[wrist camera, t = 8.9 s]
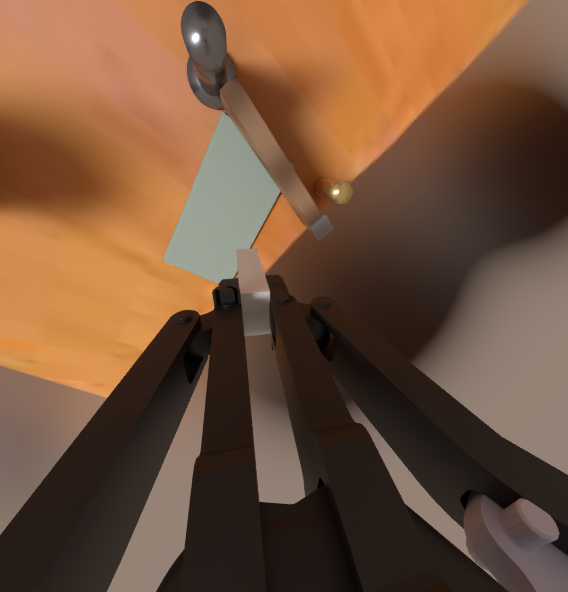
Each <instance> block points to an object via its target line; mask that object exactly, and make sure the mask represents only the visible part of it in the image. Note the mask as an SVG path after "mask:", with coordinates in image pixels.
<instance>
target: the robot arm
mask: <svg viewBox="0 0 568 592" xmlns="http://www.w3.org/2000/svg"><path fill="white" fill-rule="evenodd" d="M236 253H237V266H238V278H232V279H222V280H221V282H220V283H219V287H216V288H215V289H214V290H213V292H212V294H213V300H214V306H215V308H214V310H213V311H211V312H209V313H206V314H203V315H199V313H198V312H196V311H194V310H184V311H180V312H178V313H176V314H174V315H173V316H171V317H170V319H169V320H168V321H167V322H166V324H165V325H164V326H163V328H162V329H161V330H160V331H159V333H158V334H157V335H156V337H155V338H154V339H153V340H152V342H151V343H150V344H149V345H148V347H147V348H146V349H145V351H144V352H143V353H142V354H141V356H140V357H139V358H138V360H137V361H136V362H135V363H134V365H133V366H132V367H131V369H130V370H129V371H128V372H127V374H126V375H125V376H124V377H123V379H122V380H121V381H120V383H119V384H118V385H117V386H116V388H115V389H114V390H113V392H112V393H111V394H110V395H109V397H108V398H107V399H106V401H105V402H104V403H103V404H102V406H101V407H100V408H99V409H98V411H97V412H96V413H95V415H94V416H93V417H92V418H91V420H90V421H89V422H88V424H87V425H86V426H85V427H84V429H83V430H82V431H81V432H80V434H79V435H78V436H77V438H76V439H75V440H74V441H73V443H72V444H71V445H70V447H69V448H68V449H67V450H66V452H65V453H64V454H63V456H62V457H61V458H60V459H59V461H58V462H57V463H56V464H55V466H54V467H53V468H52V470H51V471H50V472H49V474H48V475H47V476H46V477H45V479H44V480H43V481H42V482H41V484H40V485H39V486H38V488H37V489H36V490H35V491H34V493H33V494H32V495H31V497H30V498H29V499H28V500H27V502H26V503H25V504H24V505H23V507H22V508H21V510H20V511H19V512H18V513H17V514H16V516H15V517H14V518H13V519H12V521H11V522H10V523H9V525H8V526H7V527H6V529H5V530H4V531H3V532H2V534H1V535H0V592H107V590H108V588H109V586H110V583H111V581H112V579H113V577H114V575H115V572H116V570H117V568H118V566H119V564H120V562H121V559H122V557H123V555H124V553H125V550H126V548H127V545H128V543H129V541H130V538H131V536H132V534H133V531H134V529H135V527H136V525H137V522H138V520H139V518H140V515H141V513H142V511H143V508H144V506H145V504H146V501H147V499H148V497H149V494H150V492H151V490H152V487H153V485H154V483H155V480H156V478H157V476H158V473H159V471H160V469H161V466H162V464H163V462H164V459H165V457H166V454H167V452H168V450H169V448H170V445H171V443H172V441H173V438H174V436H175V434H176V431H177V429H178V427H179V424H180V422H181V420H182V418H183V415H184V413H185V410H186V408H187V406H188V403H189V401H190V399H191V397H192V394H193V392H194V389H195V387H196V385H197V382H198V380H199V378H200V375H201V373H202V371H203V369H204V366H205V364H206V362H207V359H208V355H210V360H209V370H208V381H207V392H206V402H205V413H204V423H203V434H202V444H201V452H200V455H199V456H198V457H197V458H196V462H195V465H194V471H193V478H192V488H191V496H190V505H189V513H188V522H187V531H186V540H185V549H184V550H183V551H182V553H181V554H180V555H179V556H178V558H177V559H176V561H175V562H174V563H173V565H172V566H171V568H170V569H169V571H168V572H167V574H166V576H165V577H164V579H163V581H162V582H161V584H160V586H159V587H158V589H157V591H156V592H568V475H567V474H565V473H563V472H562V471H560V470H558V469H556V468H555V467H553V466H551V465H550V464H548V463H546V462H544V461H543V460H541V459H539V458H537V457H535V456H534V455H532V454H530V453H529V452H527V451H525V450H524V449H522V448H520V447H518V446H516V445H515V444H513V443H512V442H510V441H508V440H506V439H505V438H503V437H501V436H500V435H499V434H498V433H496V432H495V431H494V430H493V429H491V428H490V427H489V426H488V425H486V424H485V423H484V422H483V421H482V420H480V419H479V418H478V417H477V416H475V415H474V414H473V413H472V412H471V411H469V410H468V409H467V408H466V407H464V406H463V405H462V404H460V403H459V402H458V401H457V400H456V399H454V398H453V397H452V396H451V395H450V394H448V393H447V392H446V391H445V390H443V389H442V388H441V387H440V386H439V385H437V384H436V383H435V382H434V381H432V380H431V379H430V378H429V377H427V376H426V375H425V374H424V373H423V372H421V371H420V370H419V369H418V368H416V367H415V366H414V365H413V364H412V363H410V362H409V361H408V360H406V359H405V358H404V357H403V356H402V355H400V354H399V353H398V352H397V351H395V350H394V349H393V348H392V347H391V346H389V345H388V344H387V343H386V342H384V341H383V340H382V339H381V338H380V337H378V336H377V335H376V334H375V333H373V332H372V331H371V330H370V329H369V328H367V327H366V326H365V325H363V324H362V323H361V322H360V321H359V320H357V319H356V318H355V317H354V316H352V315H351V314H350V313H349V312H347V311H346V310H345V309H344V308H343V307H341V306H340V305H339V304H338V303H336V302H335V301H334V300H332V299H331V298H327V297H316V298H314V299H313V300H312V301H311V304H304V303H299V302H297V300H296V299H295V297H294V296H291V295H290V294H289V292H288V290H287V287H286V286H285V283H284V281H283V278H282V277H280V276H279V275H265V274H264V270H263V267H262V264H261V261H260V257H259V254H258V251H257V248H253V249H236ZM270 327H271V328H270ZM271 331H272V350H274V352H275V356H276V360H277V365H278V369H279V373H280V378H281V382H282V386H283V390H284V395H285V399H286V404H287V408H288V412H289V417H290V421H291V425H292V430H293V434H294V438H295V443H296V447H297V451H298V455H299V460H300V464H301V469H302V473H303V479H304V490H305V498H303V499H302V500H300V501H299V502H297V503H295V504H278V503H266V502H259V493H258V483H257V471H256V460H255V449H254V438H253V427H252V416H251V405H250V394H249V382H248V370H247V359H246V349H245V337H244V336H253V335H261V334H270V333H271ZM330 372H331V373H332V375H333V376H334V377H335V378H336V379H337V381H338V382H339V383H340V385H341V386H342V387H343V388H344V390H345V391H346V392H347V393H348V395H349V396H350V397H351V398H352V399H353V401H354V402H355V403H356V405H357V406H358V407H359V408H360V410H361V411H362V412H363V413H364V414H365V416H366V417H367V418H368V420H369V421H370V422H371V423H372V425H373V426H374V427H375V428H376V429H377V431H378V432H379V433H380V435H381V436H382V437H383V438H384V439H385V441H386V442H387V443H388V445H389V446H390V447H391V448H392V450H393V451H394V452H395V453H396V455H397V456H398V457H399V458H400V459H401V461H402V462H403V463H404V465H405V466H406V467H407V468H408V470H409V471H410V472H411V473H412V474H413V476H414V477H415V478H416V480H417V481H418V482H419V483H420V484H421V485H422V487H423V488H424V489H425V490H426V491H427V492H428V494H429V495H430V496H431V497H432V498H433V499H434V500H435V501H436V503H437V504H438V505H439V506H441V507H442V509H443V510H444V511H445V512H446V513H447V514H448V515H449V516H450V517H451V518H452V519H453V520H455V521H456V522H457V523H458V524H459V525H460V526H461V527H463V529H464V530H465V534H466V537H467V538H466V546H467V548H468V551H469V553H470V555H471V556H472V558H473V559H474V561H475V562H476V563H477V564H478V565H480V566H481V567H482V568H484V569H486V570H489V571H490V572H491V573H492V574H493V576H494V577H495V578H496V579H497V581H498V582H499V583H498V582H497V581H495V580H494V579H493V578H492V577H491V576H490V575H489V574H487V573H486V572H485V571H484V570H483V569H482V568H480V567H479V566H478V565H477V564H475V563H474V562H473V561H472V560H471V559H470V558H469V557H467V556H466V555H465V554H464V553H463V552H461V551H460V550H459V549H458V548H457V547H455V546H454V545H453V544H452V543H451V542H450V541H448V540H447V539H446V538H445V537H444V536H443V535H441V534H440V533H439V532H438V531H437V530H435V529H434V528H433V527H432V526H431V525H429V524H428V523H427V522H426V521H425V520H424V519H422V518H421V517H420V516H419V515H418V514H416V513H415V512H414V511H413V510H412V509H411V508H409V507H408V506H407V505H406V504H404V501H403V500H402V497H401V495H400V493H399V491H398V490H397V488H396V486H395V484H394V482H393V480H392V478H391V476H390V474H389V472H388V470H387V468H386V466H385V464H384V462H383V460H382V458H381V456H380V454H379V452H378V450H377V448H376V446H375V444H374V442H373V441H372V438H371V436H370V435H369V433H368V431H367V430H366V428H365V427H364V426H363V425H362V424H360V423H355V422H354V421H353V419H352V417H351V415H350V413H349V411H348V409H347V407H346V404H345V402H344V400H343V398H342V396H341V394H340V392H339V390H338V387H337V385H336V383H335V381H334V379H333V377H332V375H331V373H330Z"/></svg>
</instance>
